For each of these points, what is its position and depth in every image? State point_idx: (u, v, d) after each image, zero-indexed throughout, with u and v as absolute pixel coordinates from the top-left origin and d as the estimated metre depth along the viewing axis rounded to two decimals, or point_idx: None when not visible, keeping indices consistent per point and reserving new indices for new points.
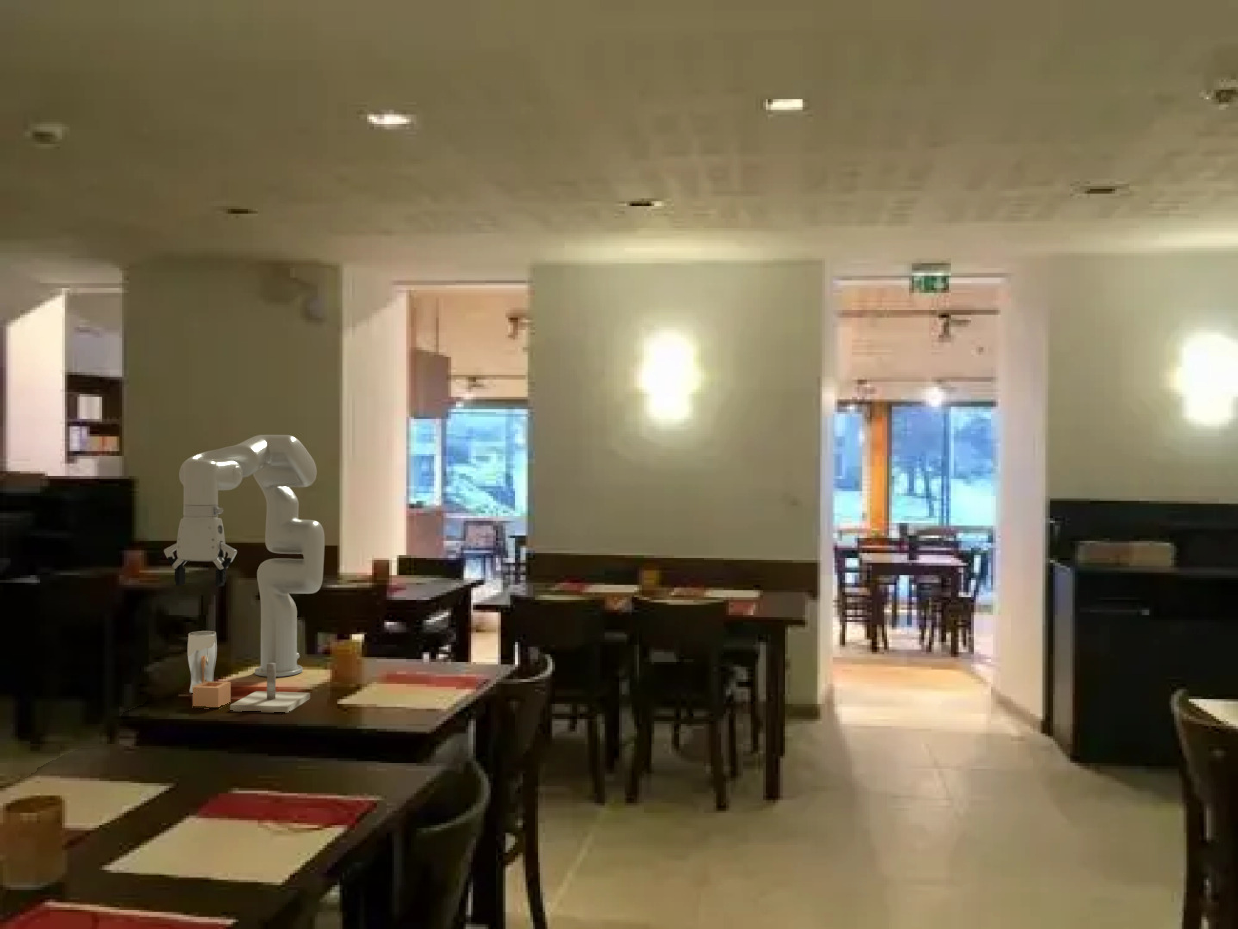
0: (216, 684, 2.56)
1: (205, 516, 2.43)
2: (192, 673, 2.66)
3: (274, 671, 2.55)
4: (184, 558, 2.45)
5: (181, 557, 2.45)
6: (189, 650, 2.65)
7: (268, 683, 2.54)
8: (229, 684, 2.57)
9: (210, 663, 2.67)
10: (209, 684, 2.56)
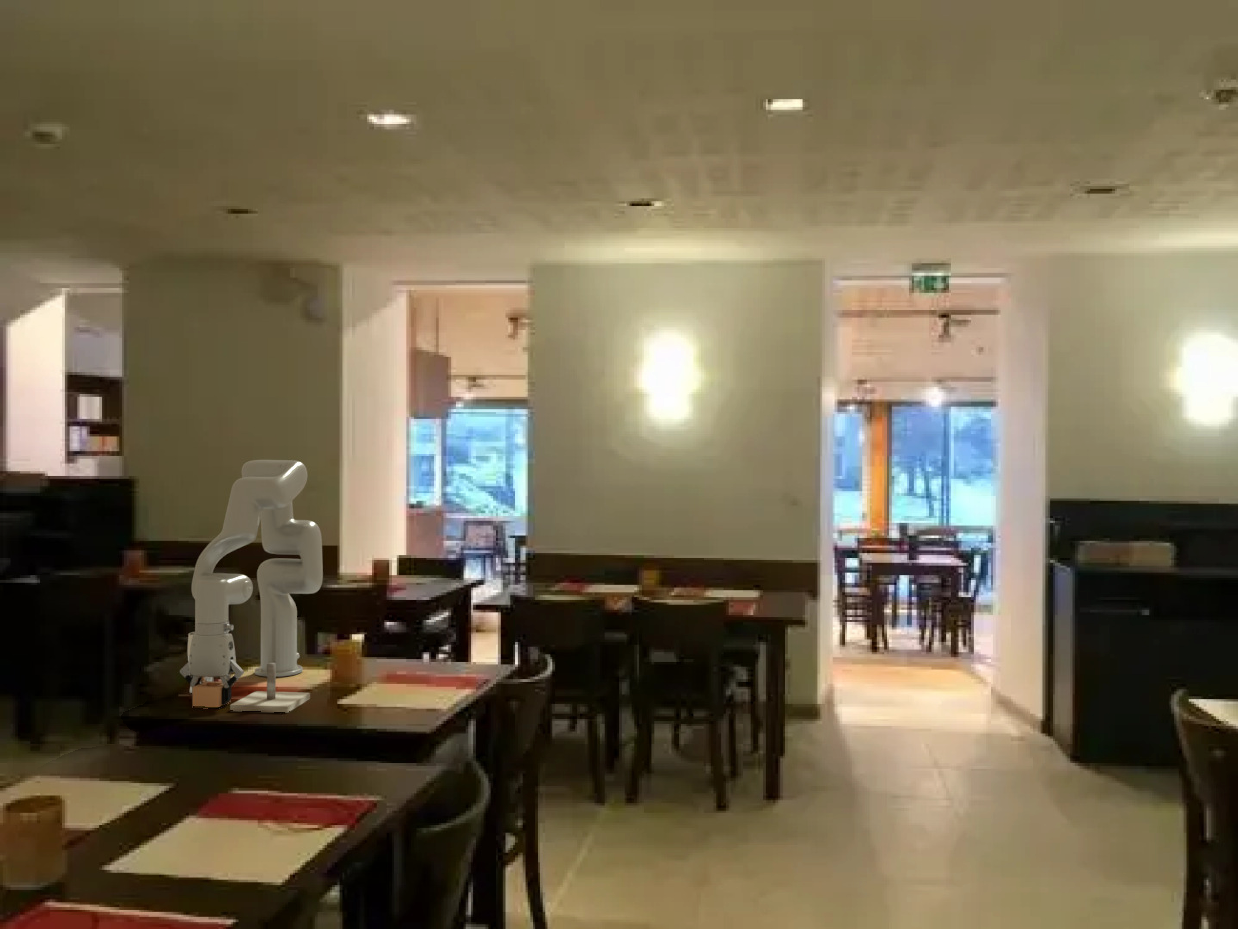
0: (216, 684, 2.56)
1: (216, 634, 2.51)
2: None
3: (274, 671, 2.55)
4: (196, 674, 2.53)
5: (193, 673, 2.53)
6: (189, 650, 2.65)
7: (268, 683, 2.54)
8: None
9: None
10: (209, 684, 2.56)
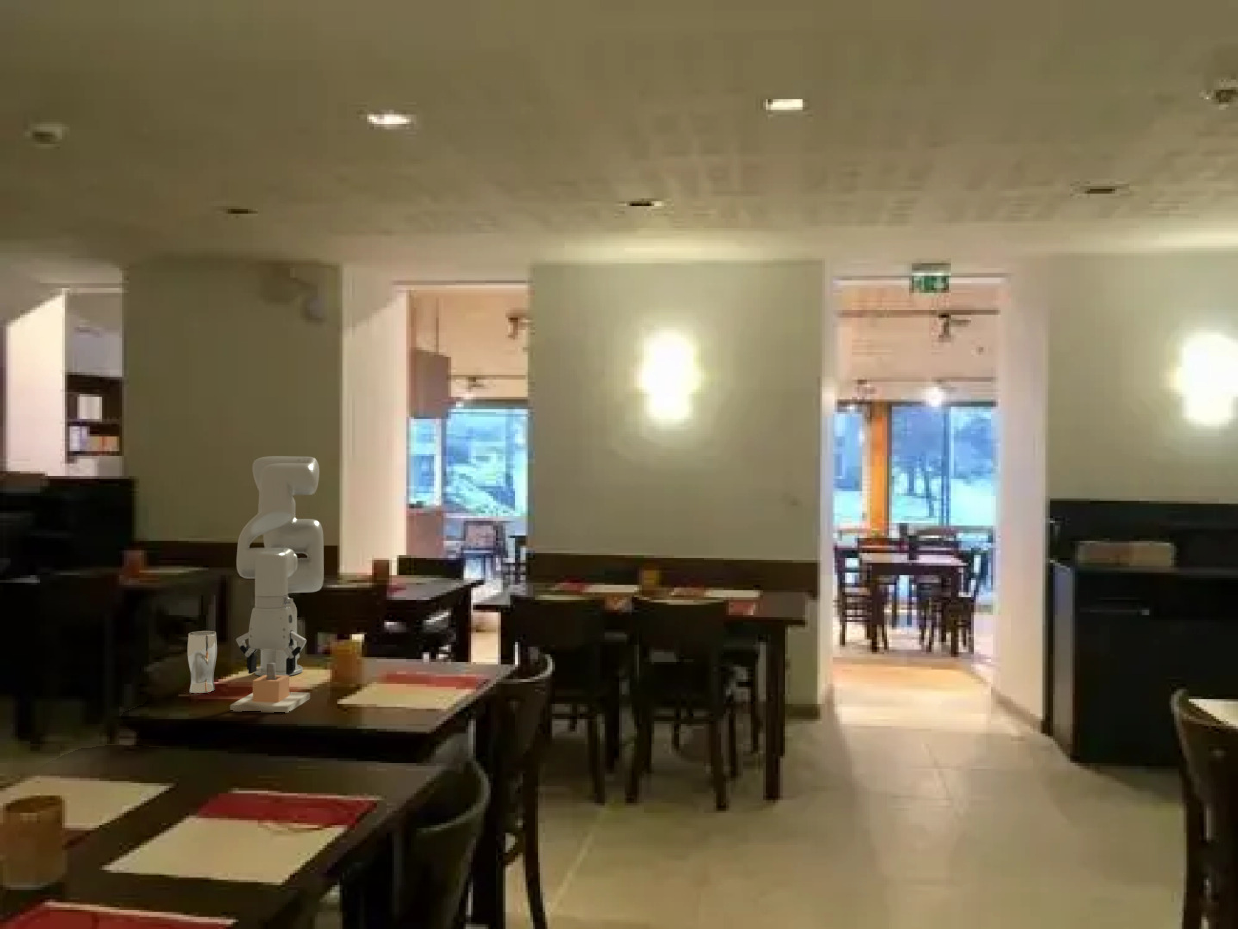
0: None
1: (276, 607, 2.52)
2: (192, 673, 2.66)
3: (274, 671, 2.55)
4: (256, 647, 2.53)
5: (253, 646, 2.53)
6: (189, 650, 2.65)
7: None
8: (288, 678, 2.57)
9: (210, 663, 2.67)
10: None
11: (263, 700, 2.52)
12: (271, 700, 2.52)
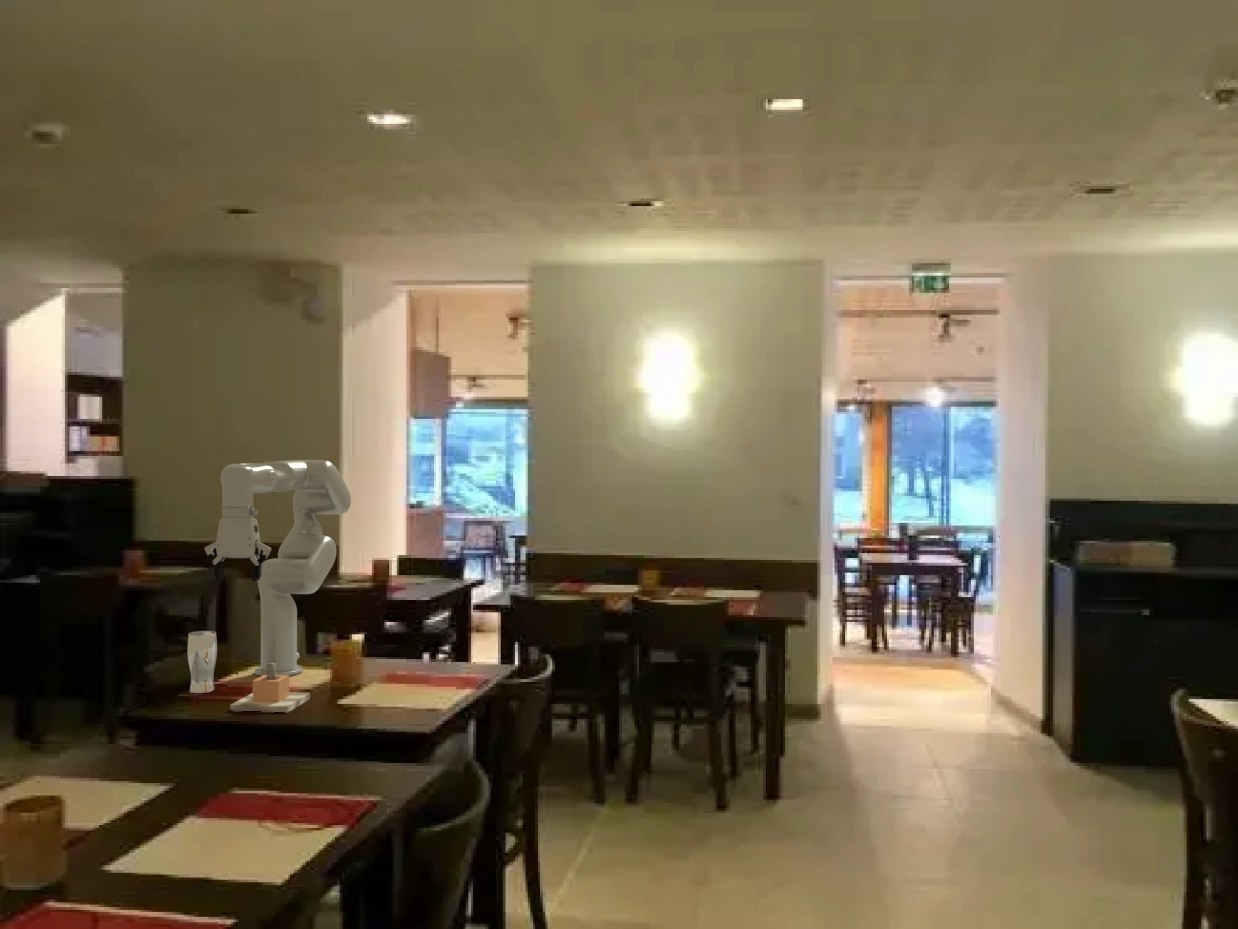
0: None
1: (242, 517, 2.67)
2: (192, 673, 2.66)
3: (274, 671, 2.55)
4: (223, 555, 2.68)
5: (220, 554, 2.68)
6: (189, 650, 2.65)
7: None
8: (288, 678, 2.57)
9: (210, 663, 2.67)
10: None
11: (263, 700, 2.52)
12: (271, 700, 2.52)
